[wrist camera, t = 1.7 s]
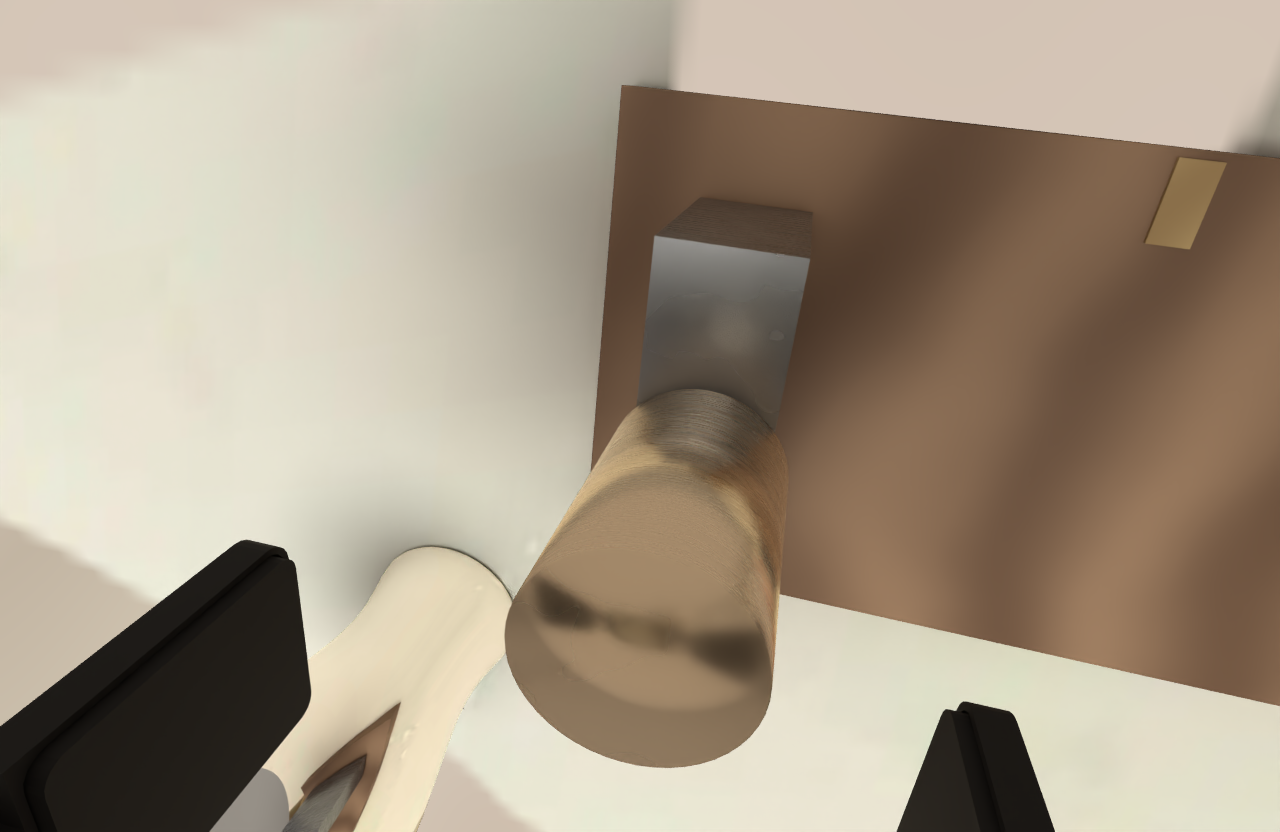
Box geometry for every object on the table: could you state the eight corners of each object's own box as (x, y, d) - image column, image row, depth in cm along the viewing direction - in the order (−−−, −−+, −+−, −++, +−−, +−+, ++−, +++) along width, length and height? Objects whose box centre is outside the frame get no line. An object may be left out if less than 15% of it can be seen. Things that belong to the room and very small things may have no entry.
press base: (1875, 224, 16) (2666, 321, 9) (1466, 717, 22) (1748, 987, 15) (634, 85, 20) (542, 80, 13) (596, 527, 26) (521, 672, 20)
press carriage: (832, 215, 19) (849, 374, 8) (765, 532, 23) (718, 913, 12) (682, 194, 19) (511, 317, 9) (644, 506, 24) (499, 847, 13)
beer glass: (367, 636, 32) (40, 1028, 18) (381, 512, 29) (-1, 874, 15) (512, 692, 31) (281, 1140, 18) (542, 571, 28) (290, 1004, 15)
